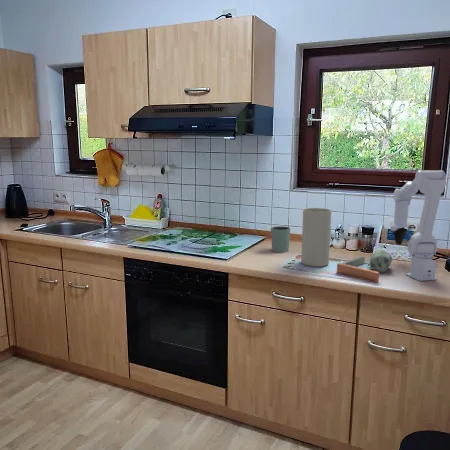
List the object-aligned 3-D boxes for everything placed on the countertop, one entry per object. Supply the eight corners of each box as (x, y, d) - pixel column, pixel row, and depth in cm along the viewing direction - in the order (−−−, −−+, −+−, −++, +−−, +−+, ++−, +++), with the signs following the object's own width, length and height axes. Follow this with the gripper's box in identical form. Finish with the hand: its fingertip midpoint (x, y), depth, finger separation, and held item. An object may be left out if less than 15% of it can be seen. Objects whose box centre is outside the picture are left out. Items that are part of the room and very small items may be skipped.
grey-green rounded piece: (393, 268, 174) (384, 246, 177) (371, 275, 179) (362, 253, 181) (398, 268, 186) (389, 247, 189) (377, 275, 190) (369, 254, 193)
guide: (361, 262, 195) (362, 254, 194) (401, 271, 181) (402, 262, 181) (334, 272, 180) (335, 263, 179) (376, 282, 166) (377, 273, 166)
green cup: (280, 253, 211) (281, 230, 209) (266, 250, 219) (266, 227, 216) (293, 250, 217) (294, 228, 215) (279, 247, 225) (280, 225, 223)
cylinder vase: (331, 261, 196) (334, 209, 192) (325, 268, 185) (328, 212, 181) (305, 258, 202) (307, 207, 197) (297, 265, 191) (299, 210, 186)
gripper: (399, 212, 200) (397, 240, 202) (385, 215, 190) (382, 244, 192) (414, 214, 194) (412, 242, 197) (400, 217, 185) (398, 247, 187)
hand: (398, 244), depth 194 cm, fingers closed
